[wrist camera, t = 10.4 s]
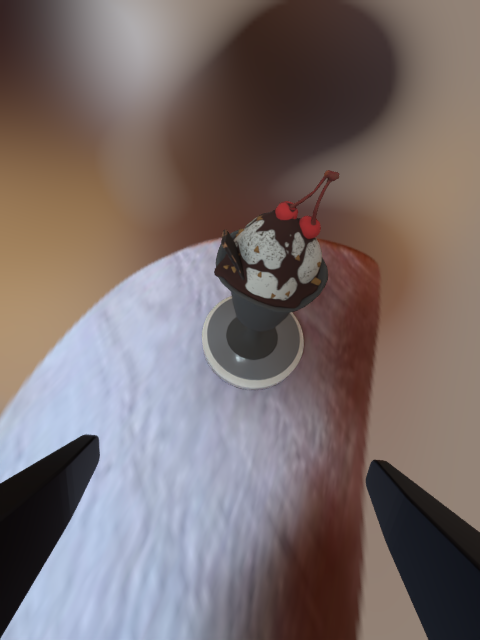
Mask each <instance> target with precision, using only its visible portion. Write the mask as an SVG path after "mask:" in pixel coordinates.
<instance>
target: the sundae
mask: <svg viewBox="0 0 480 640" xmlns="http://www.w3.org/2000/svg"><path fill="white" fill-rule="evenodd" d="M326 178H328V180H327V183H326V185H325V186H324V188H323V190H322V192H321V194H320V196H319V198H318V201H317V203H316V206H315V209H314V211H313V217H312V216H304V217H303V218H299V219H298V218H297V213H298V210H297V208H296V206H297V205H299V204H300V203H302V202H304V201H305V200H306V199H308V198H309V197H311V196H312V195H313V194H314V192H315V191H316V190H317V189H318V188H319V187H320V185H321V184H322V183H323V182H324V180H325V179H326ZM338 178H339V173H338V172H332V171H330V170H328V171H326V172H325V174H324V177H323V179H322V180H321V181H320V183H319V184H318V185H317V187H316V188H315V190H314V191H313V192H311V193H310V194H308V195H307V196H306V197H304V198H303V199H301V200H300V201H298V202H296V203H294V204H293V203H291V202H288V201H285V202H281V203H280V204H279V206H278V207H277V208H276V209H275V210H274V211H272V212H269V213H264V214H261V215H259V216H258V217H257V218H255V219H254V220H253V221H252V222H250V223H249V224H248V225H247V226H246V227H245V228H244V229H240V230H237V231H235V232H233V233H231V234H229V232H228V231H227V230H224V231H223V234H222V241H221V245H220V248H219V250H218V253H217V258H216V268H215V271H214V273H215V275H216V276H217V277H219V279H220V281H221V282H222V283H223V284H224V285H225V286H226V287H227V288H228V289H229V290H230V291H231V294H232V302H233V306H234V309H235V313H236V318H234V319H233V320H232V321H231V322H230V324H229V326H228V328H227V333H226V338H227V342H228V345H229V346H230V348H231V349H232V350H233V352H234V353H236V354H237V355H239V356H240V357H242V358H245V359H250V360H257V359H262V358H265V357H266V356H268V355H269V354H271V353H272V352H273V350H274V349H275V347H276V345H277V341H278V334H277V331H276V328H275V327H276V326H277V325H279V324H280V323H281V322H282V321H283V320H284V319H285V318H286V317H287V316H288V315H289V314H290V312H294V311H297V310H299V309H301V308H303V307H305V306H306V305H308V304H309V303H310V302H312V301H313V300H314V299H315V298H316V297H317V296H318V295H319V294H320V293H321V292H322V290H323V288H324V287H325V285H326V282H327V280H328V270H327V266H326V264H325V262H324V260H323V258H322V253H321V249H320V245H319V243H318V241H317V239H316V238H315V237H316V236H317V235H318V234H319V232H320V229H321V227H320V223H319V221H318V220H317V219H316V215H317V210H318V207H319V204H320V201H321V199H322V197H323V195H324V192H325V190H326V188H327V187H328V185H329V183H330V182H332V181H335V180H336V179H338Z"/></svg>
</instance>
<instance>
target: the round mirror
mask: <svg viewBox="0 0 480 640" xmlns="http://www.w3.org/2000/svg"><path fill="white" fill-rule="evenodd" d="M234 318H236V313H235V309H234V306H233V302H232V296H230V297H228V298H226V299H224V300H222V301H221V302H220V303H218V304H217V305H216V306H215V307H214V308H213V309H212V310H211V311H210V313H209V314H208V316H207V318H206V320H205V322H204V326H203V330H202V343H203V350H204V355H205V358H206V360H207V362H208V364H209V366H210V367H211V369H212V370H213V372H214V373H215V374H216V375H217V376H218V377H219V378H221V379H222V380H223V381H225V382H226V383H228V384H230V385H232V386H234V387H237V388H240V389H245V390H263V389H267V388H270V387H273V386H275V385H277V384H279V383H280V382H282V381H283V380H284V379H285V378H287V376H288V375H289V374H290V373H291V372H292V371H293V370H294V369H295V367H296V366H297V364H298V363H299V361H300V359H301V356H302V353H303V347H304V338H303V332H302V329H301V326H300V324H299V322H298V320H297V318H296V317H295V315H294V314H293V313H292V312H290V314H289V315H288V316H287V317H286V318H285V319H284V320H283V321H282V322H281V323H280V324H279V325H277V326H276V327H275V328H276V331H277V334H278V341H277V345H276V347H275V349H274V350H273V352H272V353H271V354H269V355H268V356H266V357H265V358H262V359H257V360H250V359H245V358H242V357H240V356H239V355H237V354H236V353H234V352H233V350H232V349H231V348H230V346H229V345H228V342H227V338H226V333H227V328H228V326H229V324H230V322H231V321H232V320H233V319H234Z"/></svg>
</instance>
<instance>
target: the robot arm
mask: <svg viewBox="0 0 480 640" xmlns="http://www.w3.org/2000/svg"><path fill="white" fill-rule="evenodd" d="M99 458H100V451H99V438H98V436H96V435H87V434H86V435H82V436H80V437H79V438H77V439H75V440H74V441H72V442H70V443H69V444H67V445H65V446H63V447H62V448H60V449H58V450H57V451H55V452H53V453H51V454H50V455H48V456H46V457H45V458H43V459H41V460H40V461H38V462H36V463H34V464H33V465H31V466H29V467H28V468H26V469H24V470H23V471H21V472H19V473H17V474H16V475H14V476H12V477H11V478H9V479H7V480H6V481H4V482H2V483H0V638H1V637H2V635H3V633H4V632H5V630H6V628H7V626H8V625H9V623H10V621H11V620H12V618H13V616H14V615H15V613H16V611H17V610H18V608H19V606H20V605H21V603H22V601H23V599H24V598H25V596H26V594H27V593H28V591H29V589H30V588H31V586H32V584H33V583H34V581H35V579H36V578H37V576H38V574H39V572H40V571H41V569H42V567H43V566H44V564H45V562H46V561H47V559H48V557H49V556H50V554H51V552H52V551H53V549H54V547H55V545H56V544H57V542H58V540H59V539H60V537H61V535H62V534H63V532H64V530H65V529H66V527H67V525H68V523H69V522H70V520H71V518H72V516H73V514H74V512H75V510H76V508H77V506H78V504H79V502H80V500H81V498H82V496H83V494H84V491H85V489H86V487H87V485H88V483H89V481H90V479H91V477H92V475H93V473H94V471H95V469H96V467H97V464H98V462H99ZM366 486H367V490H368V492H369V495H370V498H371V501H372V504H373V507H374V510H375V512H376V515H377V518H378V521H379V524H380V527H381V530H382V532H383V535H384V538H385V541H386V543H387V545H388V548H389V551H390V553H391V555H392V557H393V560H394V562H395V564H396V567H397V569H398V571H399V573H400V576H401V578H402V580H403V582H404V585H405V587H406V589H407V592H408V594H409V596H410V598H411V601H412V603H413V605H414V608H415V610H416V612H417V614H418V617H419V619H420V621H421V624H422V626H423V628H424V631H425V633H426V635H427V637H428V640H480V532H478V531H477V530H476V529H475V528H473V527H472V526H471V525H469V524H468V523H467V522H465V521H464V520H463V519H461V518H460V517H459V516H457V515H456V514H455V513H454V512H452V511H451V510H449V509H448V508H447V507H445V506H444V505H443V504H442V503H440V502H439V501H438V500H436V499H435V498H434V497H433V496H431V495H430V494H429V493H427V492H426V491H425V490H423V489H422V488H421V487H419V486H418V485H417V484H416V483H414V482H413V481H412V480H410V479H409V478H408V477H406V476H405V475H404V474H402V473H401V472H400V471H399V470H397V469H396V468H394V467H393V466H392V465H391V464H389V463H388V462H386V461H383V460H373V461H372V462H371V464H370V467H369V470H368V473H367V476H366Z"/></svg>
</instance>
